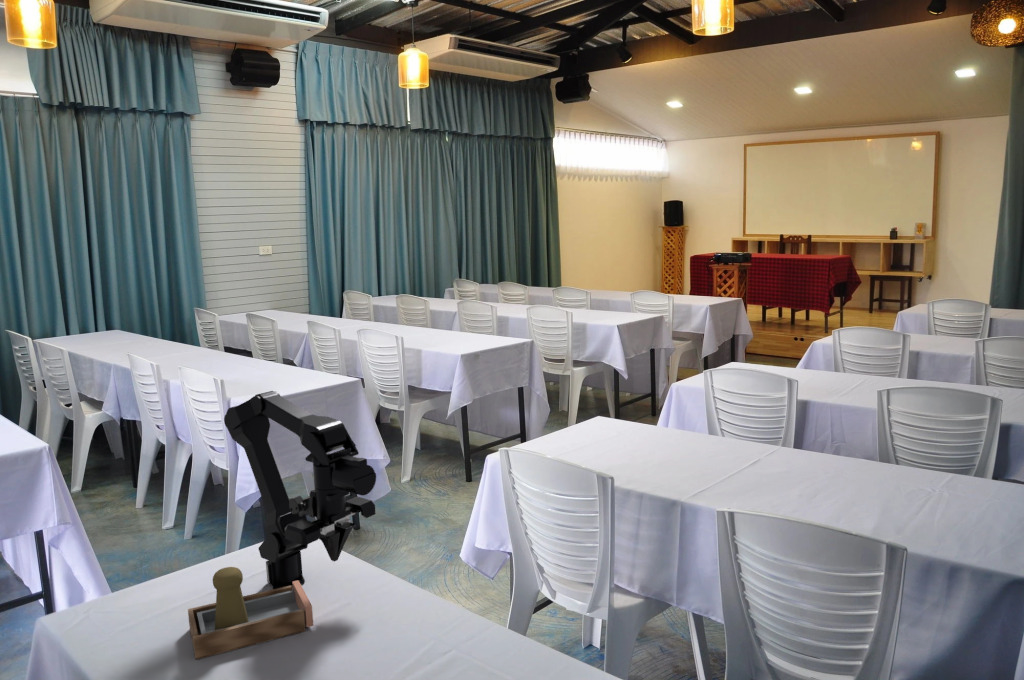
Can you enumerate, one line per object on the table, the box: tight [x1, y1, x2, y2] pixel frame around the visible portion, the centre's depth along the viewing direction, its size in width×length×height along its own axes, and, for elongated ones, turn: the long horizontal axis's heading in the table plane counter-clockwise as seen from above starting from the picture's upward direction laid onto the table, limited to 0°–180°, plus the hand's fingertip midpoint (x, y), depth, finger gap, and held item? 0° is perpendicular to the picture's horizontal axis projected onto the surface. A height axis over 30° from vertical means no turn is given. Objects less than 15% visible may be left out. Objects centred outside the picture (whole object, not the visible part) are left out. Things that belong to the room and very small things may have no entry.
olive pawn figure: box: [212, 566, 249, 630], centre depth 144 cm, size 6×6×11 cm
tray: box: [197, 580, 314, 635], centre depth 146 cm, size 19×12×4 cm, turn 117°
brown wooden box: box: [187, 585, 306, 661], centre depth 146 cm, size 19×12×4 cm, turn 117°
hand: (334, 560), depth 155 cm, fingers closed
